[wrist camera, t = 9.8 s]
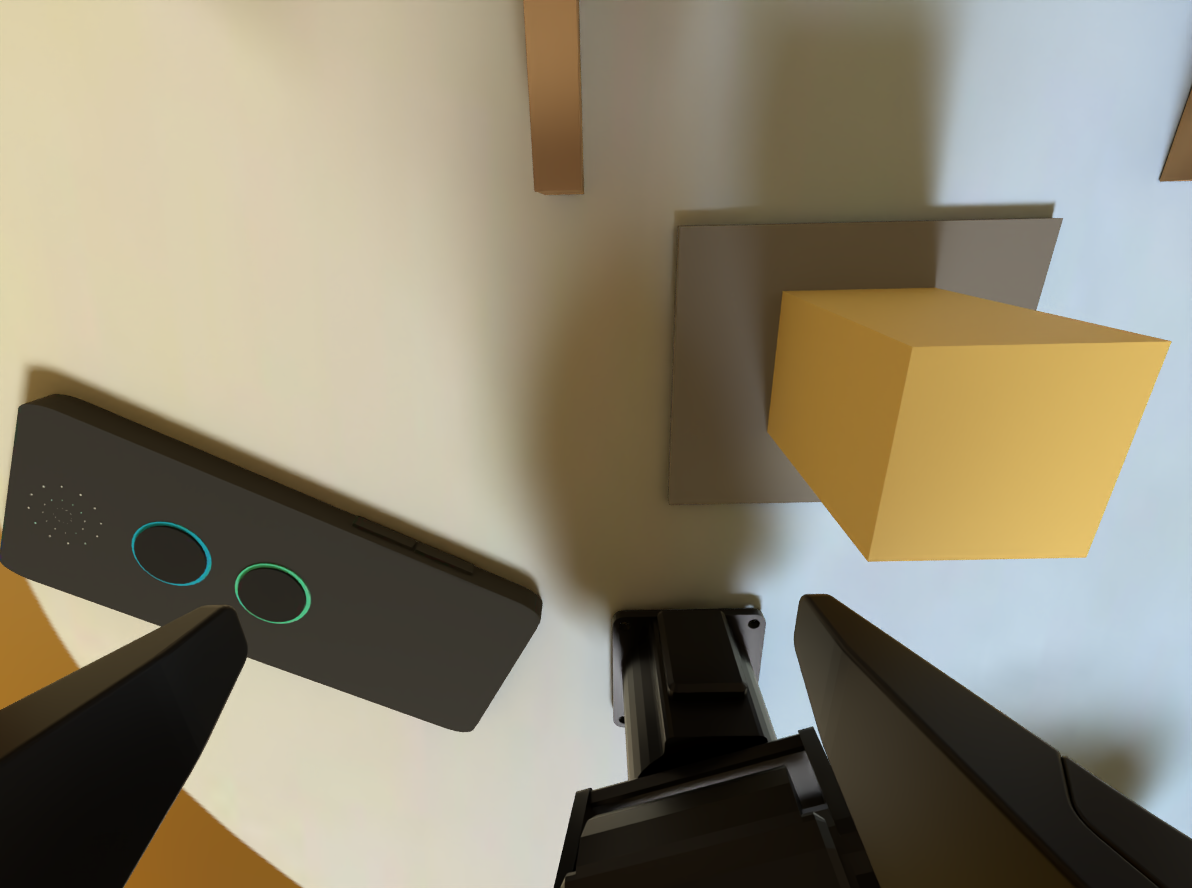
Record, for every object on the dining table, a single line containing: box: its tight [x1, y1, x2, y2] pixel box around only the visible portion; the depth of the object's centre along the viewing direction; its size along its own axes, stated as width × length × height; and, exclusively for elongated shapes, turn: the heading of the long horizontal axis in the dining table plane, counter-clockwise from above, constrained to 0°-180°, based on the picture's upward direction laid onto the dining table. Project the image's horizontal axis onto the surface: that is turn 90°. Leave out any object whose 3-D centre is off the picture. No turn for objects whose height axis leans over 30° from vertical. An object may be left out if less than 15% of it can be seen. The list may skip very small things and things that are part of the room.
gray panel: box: [668, 218, 1063, 505], centre depth 19 cm, size 10×12×1 cm
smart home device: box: [0, 394, 543, 732], centre depth 23 cm, size 8×2×20 cm
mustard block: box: [767, 288, 1171, 562], centre depth 15 cm, size 5×5×8 cm
